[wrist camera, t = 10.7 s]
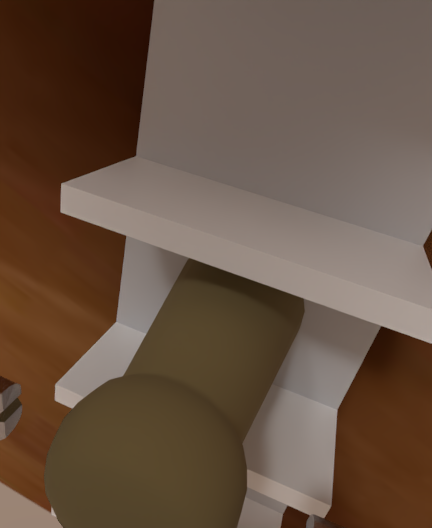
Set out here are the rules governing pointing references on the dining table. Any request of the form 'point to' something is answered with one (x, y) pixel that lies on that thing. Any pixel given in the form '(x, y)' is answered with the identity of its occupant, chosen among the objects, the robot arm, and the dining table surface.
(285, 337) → the cork
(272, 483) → the slot rack
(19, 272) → the dining table surface
